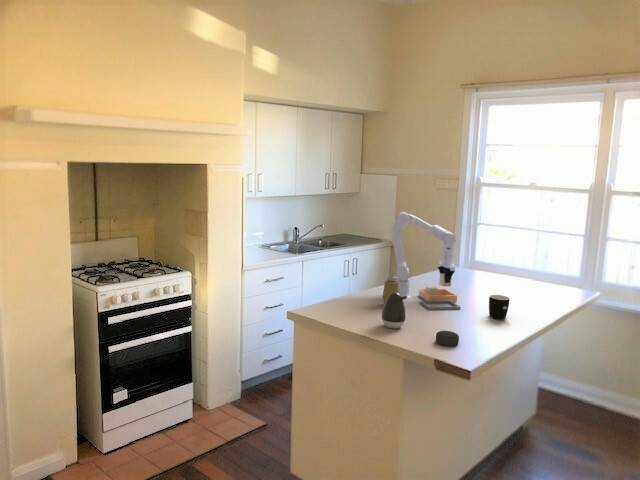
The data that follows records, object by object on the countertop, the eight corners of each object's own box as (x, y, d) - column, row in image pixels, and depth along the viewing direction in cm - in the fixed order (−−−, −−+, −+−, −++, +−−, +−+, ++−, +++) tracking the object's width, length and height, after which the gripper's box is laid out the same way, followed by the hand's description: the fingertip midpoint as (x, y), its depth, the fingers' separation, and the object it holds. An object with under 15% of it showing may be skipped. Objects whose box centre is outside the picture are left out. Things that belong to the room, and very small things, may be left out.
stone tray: (429, 311, 256) (429, 307, 256) (419, 304, 267) (420, 300, 267) (460, 310, 260) (460, 306, 259) (449, 304, 271) (450, 300, 270)
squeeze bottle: (400, 304, 265) (403, 269, 262) (395, 308, 258) (398, 272, 255) (384, 302, 268) (387, 267, 265) (379, 305, 261) (382, 269, 258)
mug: (502, 322, 244) (504, 300, 243) (483, 317, 250) (486, 296, 249) (513, 317, 253) (515, 296, 252) (495, 313, 259) (497, 292, 258)
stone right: (442, 286, 275) (443, 275, 274) (439, 284, 279) (440, 273, 278) (450, 286, 276) (451, 275, 275) (446, 284, 280) (447, 273, 279)
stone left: (428, 299, 275) (429, 288, 274) (425, 297, 279) (426, 286, 278) (436, 299, 275) (437, 288, 275) (433, 297, 280) (434, 286, 279)
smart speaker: (432, 339, 217) (433, 329, 217) (454, 339, 218) (455, 330, 217) (438, 347, 208) (439, 337, 208) (461, 347, 209) (462, 337, 208)
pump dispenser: (399, 332, 223) (402, 297, 221) (376, 327, 228) (379, 292, 226) (409, 326, 232) (411, 292, 229) (387, 321, 237) (389, 288, 235)
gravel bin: (428, 303, 270) (429, 295, 269) (418, 296, 283) (419, 289, 282) (456, 303, 273) (457, 295, 273) (445, 296, 286) (445, 289, 285)
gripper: (461, 258, 269) (458, 285, 271) (448, 253, 283) (446, 278, 285) (448, 258, 267) (445, 285, 270) (436, 253, 281) (433, 278, 284)
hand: (445, 281), depth 277 cm, fingers closed on stone right, 4 cm apart
